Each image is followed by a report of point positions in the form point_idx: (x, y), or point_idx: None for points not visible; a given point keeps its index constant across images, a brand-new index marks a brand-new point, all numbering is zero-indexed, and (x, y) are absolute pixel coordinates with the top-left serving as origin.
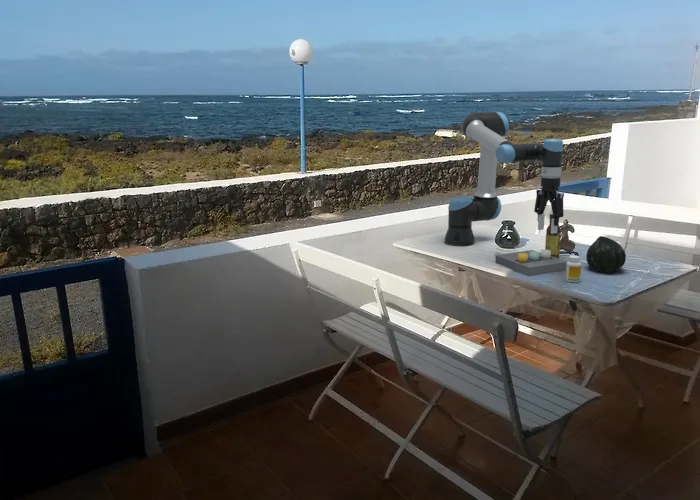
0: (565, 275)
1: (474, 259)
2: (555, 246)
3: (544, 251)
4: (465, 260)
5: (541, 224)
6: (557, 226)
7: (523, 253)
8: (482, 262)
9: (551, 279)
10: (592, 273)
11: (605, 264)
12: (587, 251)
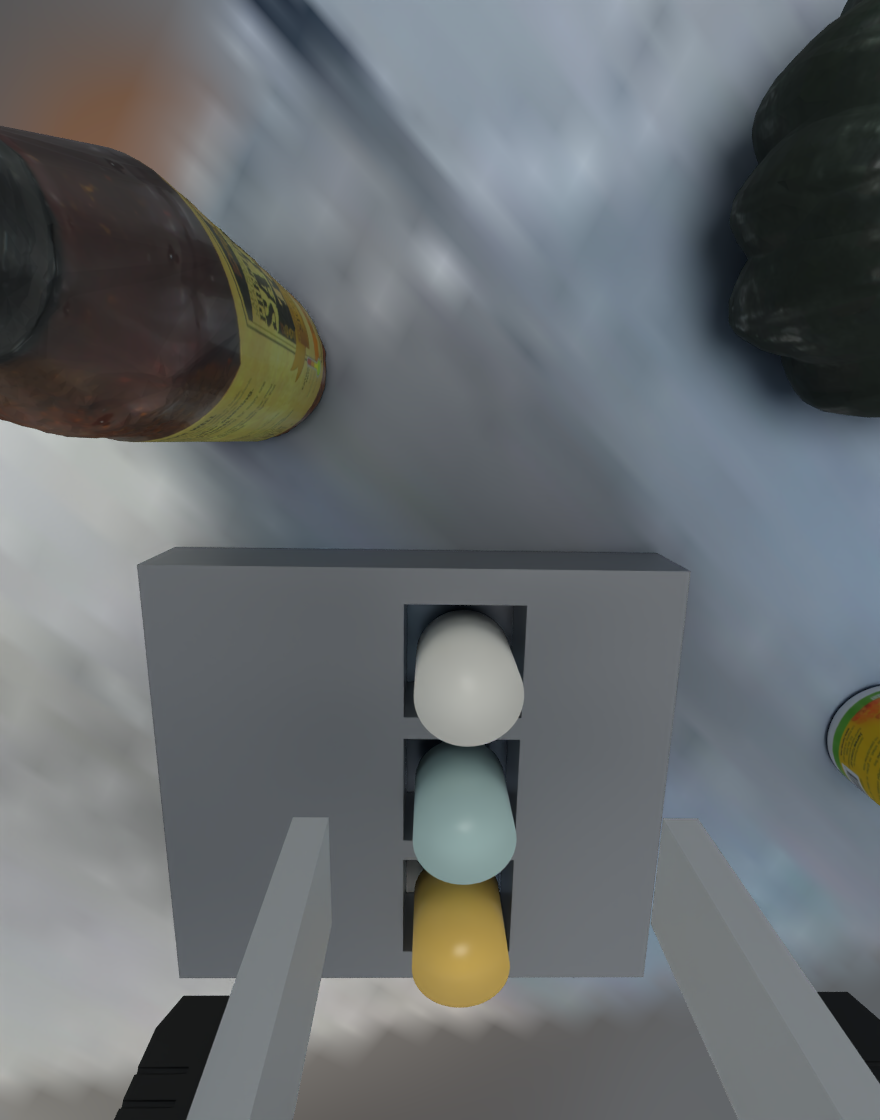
0: (865, 793)
1: (52, 989)
2: (292, 380)
3: (489, 732)
4: (55, 1054)
5: (306, 971)
6: (773, 931)
7: (447, 955)
8: (158, 985)
9: (768, 839)
10: (855, 446)
11: None
12: (827, 336)
